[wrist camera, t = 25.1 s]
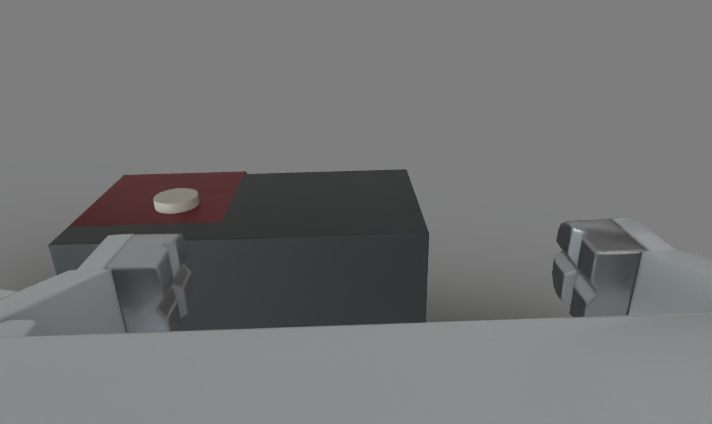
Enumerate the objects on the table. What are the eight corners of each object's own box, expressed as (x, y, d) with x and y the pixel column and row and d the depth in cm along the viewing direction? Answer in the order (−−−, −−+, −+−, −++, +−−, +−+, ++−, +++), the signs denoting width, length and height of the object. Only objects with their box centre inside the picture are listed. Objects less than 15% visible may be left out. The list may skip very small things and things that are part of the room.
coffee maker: (417, 534, 35) (429, 222, 26) (125, 546, 35) (33, 234, 25) (396, 388, 47) (400, 142, 38) (181, 396, 47) (133, 150, 38)
